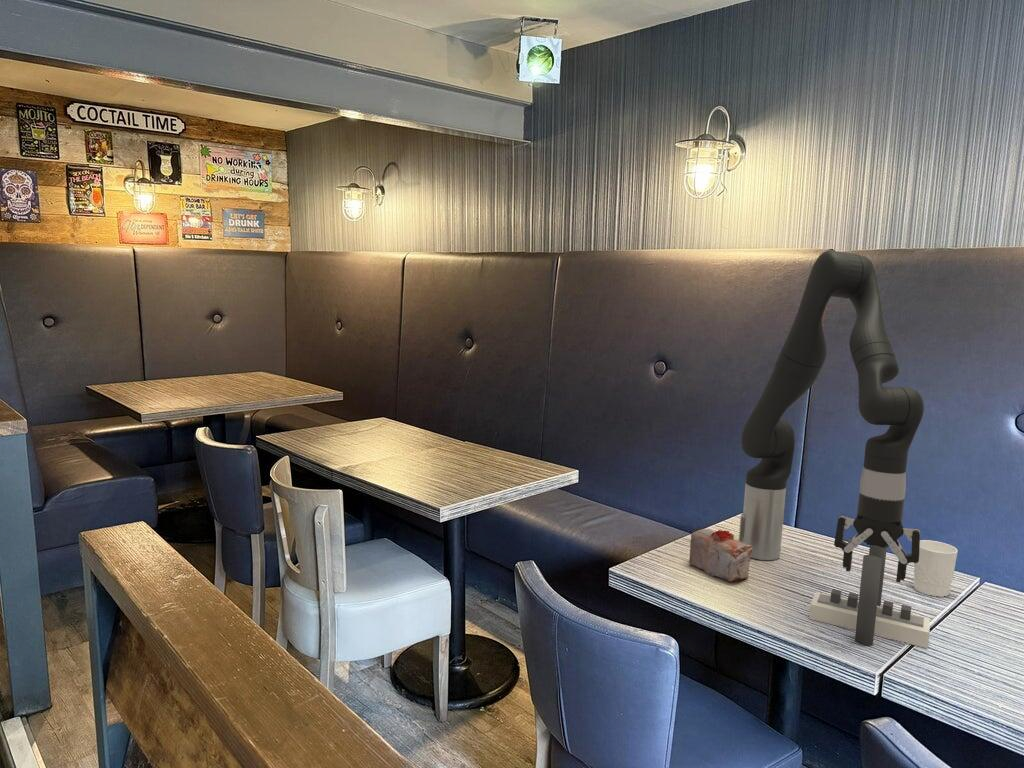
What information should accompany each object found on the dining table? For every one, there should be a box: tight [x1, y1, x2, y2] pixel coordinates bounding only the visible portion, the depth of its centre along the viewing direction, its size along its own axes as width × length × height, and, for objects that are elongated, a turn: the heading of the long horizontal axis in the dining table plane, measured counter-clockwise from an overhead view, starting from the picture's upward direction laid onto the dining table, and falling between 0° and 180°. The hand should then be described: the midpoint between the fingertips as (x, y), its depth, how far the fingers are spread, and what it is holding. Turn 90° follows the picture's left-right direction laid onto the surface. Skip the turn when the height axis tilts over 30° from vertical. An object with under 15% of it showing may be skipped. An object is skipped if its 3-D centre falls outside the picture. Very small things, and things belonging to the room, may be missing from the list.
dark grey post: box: [854, 554, 882, 647], centre depth 129 cm, size 3×3×16 cm
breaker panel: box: [808, 588, 931, 649], centre depth 136 cm, size 20×7×5 cm, turn 58°
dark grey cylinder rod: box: [868, 545, 888, 607], centre depth 141 cm, size 3×3×16 cm
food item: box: [688, 528, 753, 582], centre depth 159 cm, size 14×8×10 cm, turn 36°
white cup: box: [913, 539, 959, 598], centre depth 153 cm, size 8×8×10 cm
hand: (873, 575), depth 135 cm, fingers open, 8 cm apart
